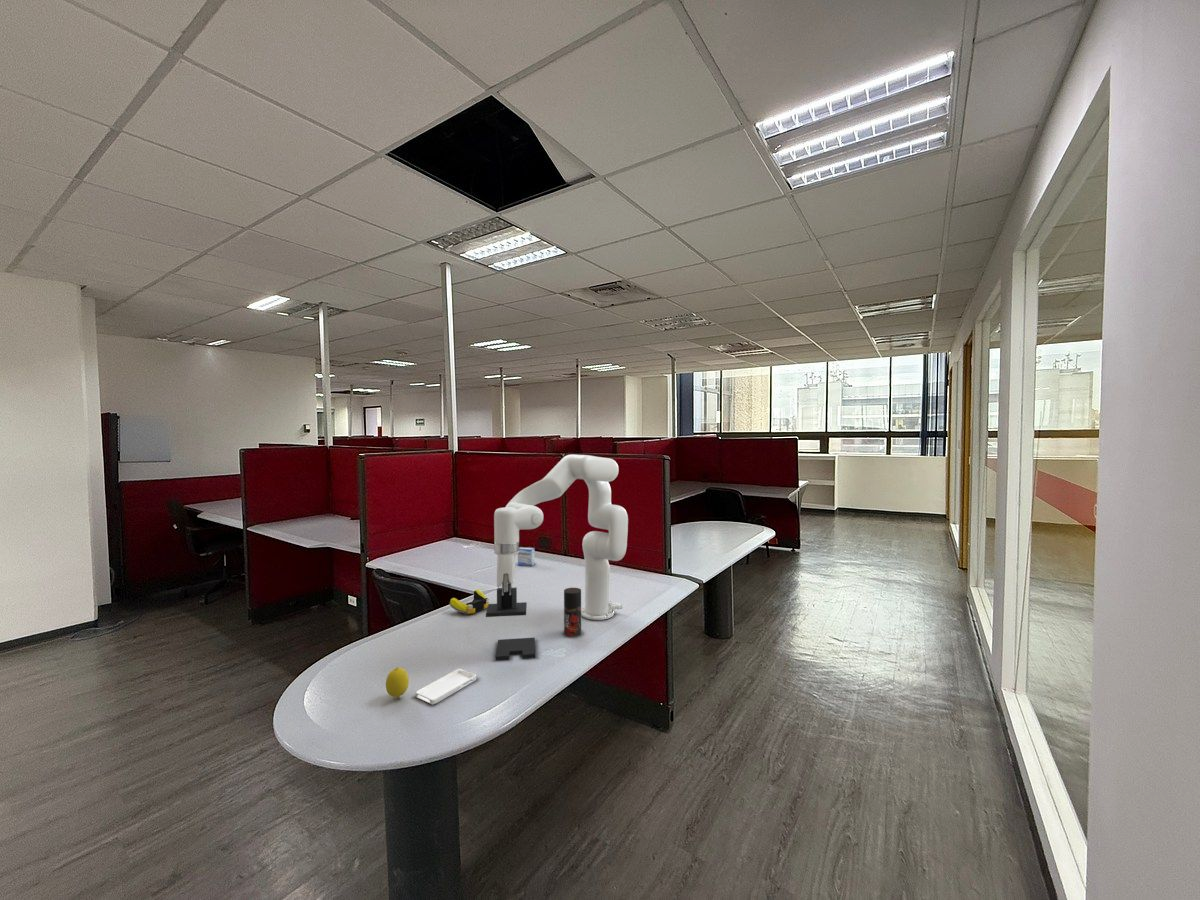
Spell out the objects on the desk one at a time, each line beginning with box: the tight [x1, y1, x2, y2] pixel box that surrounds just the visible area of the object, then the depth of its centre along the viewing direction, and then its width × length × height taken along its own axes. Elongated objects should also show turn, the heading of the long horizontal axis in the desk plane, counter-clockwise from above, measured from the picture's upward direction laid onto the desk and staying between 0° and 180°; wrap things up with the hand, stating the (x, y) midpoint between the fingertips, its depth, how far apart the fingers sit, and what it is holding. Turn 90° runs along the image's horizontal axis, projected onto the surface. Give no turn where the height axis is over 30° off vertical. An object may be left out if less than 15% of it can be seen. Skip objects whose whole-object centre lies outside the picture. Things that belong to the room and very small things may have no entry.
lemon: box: [385, 666, 410, 699], centre depth 124 cm, size 6×6×8 cm
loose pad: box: [485, 586, 528, 618], centre depth 150 cm, size 12×11×7 cm
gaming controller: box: [449, 589, 490, 616], centre depth 187 cm, size 15×6×10 cm
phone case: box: [415, 668, 477, 706], centre depth 129 cm, size 7×1×15 cm
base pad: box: [495, 637, 536, 661], centre depth 152 cm, size 12×12×1 cm
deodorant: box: [563, 587, 582, 638], centre depth 164 cm, size 6×6×15 cm
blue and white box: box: [517, 546, 536, 567], centre depth 250 cm, size 8×4×9 cm, turn 80°
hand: (507, 605), depth 149 cm, fingers closed on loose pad
